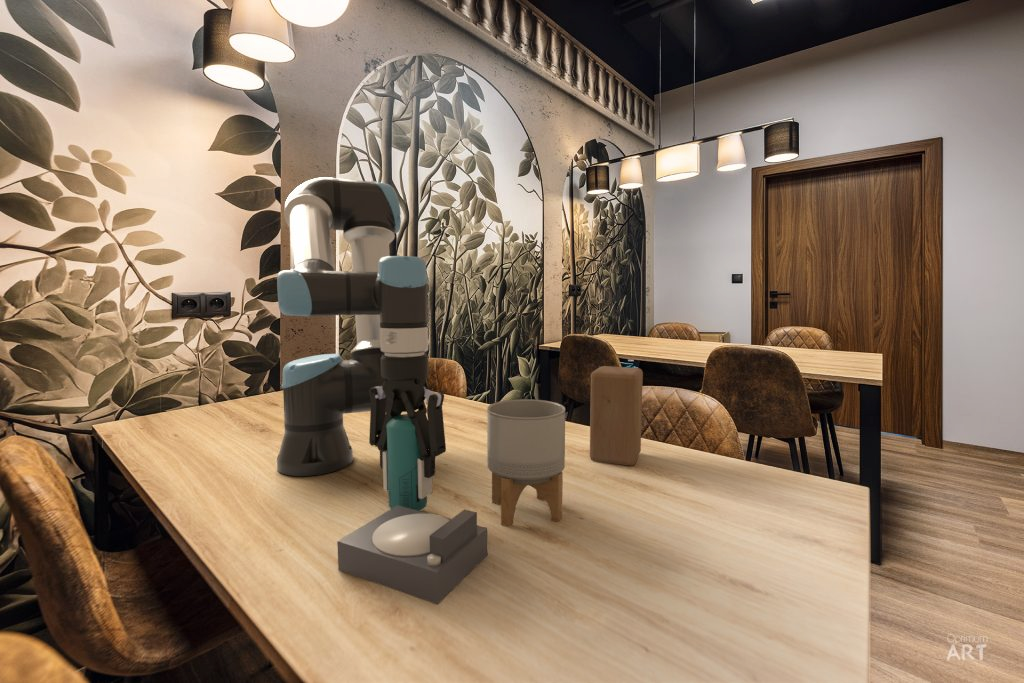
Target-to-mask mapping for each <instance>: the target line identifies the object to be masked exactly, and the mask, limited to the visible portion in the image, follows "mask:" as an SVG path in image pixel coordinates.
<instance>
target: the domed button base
mask: <svg viewBox="0 0 1024 683" xmlns="http://www.w3.org/2000/svg"><path fill="white" fill-rule="evenodd" d="M488 535H489V534H488V527H485V526H481V525H478V512H477V511H473V510H469V509H462V510H461V511H460V512H459V513H458V514H456V515H455V516H453V517H452V518H449V517H446V516H442V515H439V514H433V513H431V512H426V511H422V510H421V511H418V510H414V509H410V508H406V507H402V506H398V505H397V506H395V507H394V508H392V509H388V510H387V511H385V512H384V513H382V514H380V515H378V516H377V517H375V518H374V519H372V520H371V521H368V522H367V523H365V524H364V525H362V526H361V527H358V528H357V529H355V530H354V531H352V532H350V533H349V534H347V535H345V536H343V537H342V538H340V539H338V540H337V546H336V547H337V567H338V571H340V572H344V573H346V574H349V575H352V576H354V577H355V576H356V577H358V578H361V579H364V580H366V581H369V582H372V583H375V584H378V585H381V586H383V587H385V588H388V589H389V588H390V589H393V590H395V591H397V592H401V593H404V594H406V595H409V596H411V597H415V598H418V599H420V600H423V601H427V602H428V603H431V604H435V605H439V604H440V603H441V602H442V601H443V600H444V599H445V598H446V597H447V596H448V595H449V594H450V593H451V592H452V591H453V590H454V589H455V588H456V587H457V586H458V585H459V584H460V583H461V582H462V581H463V580H464V579H465V578H466V577H467V576H468V575H469V574H470V573H471V572H472V571H473V570H475V568H476V567H477V566H478V565H479V564H480V563H482V561H483V560H484V559H485V558H486V557H487V556H488V554H489V553H488V551H489V550H488V547H489V546H488V542H489V541H488V538H489V537H488Z"/></svg>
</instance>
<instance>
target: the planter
mask: <svg viewBox="0 0 1024 683" xmlns="http://www.w3.org/2000/svg"><path fill="white" fill-rule="evenodd" d="M486 408H487V409H486V411H487V412H486V420H487V423H486V425H487V429H486V432H487V435H486V436H487V442H486V443H487V445H486V446H487V448H486V449H487V450H486V451H487V469H488V470H489V471H490V472H491V503H492V504H493V505H496V506H497V505H500V504H501V505H500V507H501V510H500V511H501V513H500V515H501V519H500V520H501V521H500V522H501V524H500V525H501V526H504V527H506V528H510V527H512V526H513V525H514V520H515V511H516V507H517V504H518V501H519V500H520V496H521V494H522V492H523V491H524V490H525V488H526V487H531V488H533V489H534V490H536V499H538V500H542V501H545V502H546V503H547V506H548V509H549V511H550V518H551V521H554V522H560V521H561V520H562V519H563V479H564V478H563V476H564V475H563V471H564V469H565V468H566V467H565V465H566V464H565V463H566V459H565V458H566V457H565V456H566V455H565V454H566V407H565V406H564V405H562V404H560V403H558V402H555V401H554V402H553V401H549V400H544V399H543V400H542V399H529V398H528V399H526V398H525V399H507V400H502V401H497V402H493V403H491V404H489V405H488V406H487V407H486Z"/></svg>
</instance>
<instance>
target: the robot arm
mask: <svg viewBox="0 0 1024 683" xmlns="http://www.w3.org/2000/svg"><path fill="white" fill-rule="evenodd" d="M283 210H284V211H283V213H284V220H285V223H286V225H287V226H288V228H289V251H290V252H289V258H290V259H289V260H290V261H289V262H290V265H289V266H290V268H289V269H290V270H289V269H285V270H281V271H279V272H278V273H277V278H276V280H277V281H276V282H277V283H276V286H277V288H276V289H277V301H278V302H277V304H278V310H279V312H280V313H281V314H282V315H284V316H296V317H297V316H298V317H301V316H302V317H315V316H317V317H319V316H322V317H323V316H354V317H355V331H356V333H355V334H356V345H355V346H354V347H353V349H351V351H350V355H349V356H350V359H347V360H346V359H344V360H343V358H342V356H341V354H339V353H329V354H328V353H325V354H324V353H323V354H318V355H317V354H316V355H312V356H306V357H301V358H298V359H294V360H291V361H289V362H287V363H286V364H285V365H284V367H283V369H282V383H281V389H282V395H283V419H284V420H283V421H284V423H283V424H284V434H283V438H282V441H281V444H280V449H279V453H278V455H277V457H276V468H277V471H278V472H279V473H281V474H283V475H286V476H292V477H310V476H311V477H312V476H318V475H324V474H325V475H326V474H329V473H332V472H333V473H334V472H336V471H339V470H341V469H344V468H346V467H348V466H349V465H350V464H352V462H353V461H354V457H353V456H354V455H353V454H354V453H353V452H354V450H353V448H352V446H351V445H350V444H351V443H350V441H349V440H350V439H349V437H348V435H347V432H346V429H345V426H344V414H345V415H346V414H356V413H365V412H366V413H367V412H370V415H369V418H370V420H369V439H368V440H369V442H368V444H369V445H370V446H373V447H374V446H375V447H377V449H378V451H379V466H380V469H382V480H383V481H382V482H383V485H382V486H383V487H382V488H383V491H387V492H388V491H389V489H388V487H387V486H388V481H387V480H388V477H387V475H388V472H387V471H388V451H387V428H386V425H387V423H388V422H389V421H390V420H391V419H392V418H393V417H394V416H397V415H402V414H403V412H396V411H393V410H392V407H393V402H394V399H395V398H402V401H403V403H404V404H405V408H406V411H407V412H406V414H407V415H408V417H409V418H410V419H411V421H412V424H413V425H414V426H415V435H416V438H417V441H418V445H419V448H420V452H421V455H422V456H421V457H419V458H418V498H420V499H423V498H425V497H426V496H427V497H428V496H430V494H433V477H434V476H435V474H436V457H438V456H441V455H442V454H444V453H445V452H446V451H447V446H446V445H447V444H446V432H445V424H444V414H443V413H444V412H443V405H444V399H445V394H444V393H443V392H442V391H439V392H435V391H432V390H430V387H429V386H428V385H429V384H428V381H427V379H428V377H429V356H428V354H426V353H425V352H427V351H428V350H429V328H428V282H429V277H428V272H427V263H426V261H425V259H423V258H422V257H419V256H412V255H410V256H409V255H408V256H406V255H390V244H391V243H392V242H393V241H394V240H395V238H396V236H395V234H396V233H399V232H400V229H401V223H402V219H401V218H402V217H401V206H400V202H399V197H398V194H397V192H396V189H395V188H394V187H393V185H390V184H389V183H384V182H378V181H376V180H372V181H366V180H356V179H348V178H347V179H345V178H337V177H327V176H326V177H325V176H324V177H316V178H313V179H310V180H306V181H305V182H303V183H302V184H300V185H298V186H297V187H296V188H294V190H293V191H292V192H291V193H289V195H288V197H287V199H286V201H285V202H284V208H283ZM331 230H333V231H342V232H343V239H344V240H345V241H346V242H347V243H349V245H350V249H351V253H350V254H351V264H352V266H351V267H352V268H351V269H352V271H348V270H345V271H343V270H341V271H340V270H336V263H335V258H334V256H335V255H334V250H333V242H332V237H331ZM425 400H426V401H425ZM426 406H427V407H426Z"/></svg>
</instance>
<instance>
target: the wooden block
mask: <svg viewBox="0 0 1024 683" xmlns="http://www.w3.org/2000/svg"><path fill="white" fill-rule="evenodd" d="M643 377H644V372H643V370H642V369H641V368H639V367H630V366H627V367H626V366H625V367H623V366H609V365H608V366H605V365H602V366H599V367H597V369H595V370H594V371H592V372H591V374H590V407H589V408H590V410H589V412H590V414H589V415H590V417H589V418H590V419H589V420H590V421H589V422H590V423H589V458H590V460H591V461H593V462H594V461H595V462H601V463H607V464H615V465H624V466H635V464H636V462H637V460H638V458H639V455H640V453H641V449H642V415H643V414H642V413H643V412H642V411H643V380H644V379H643Z"/></svg>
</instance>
